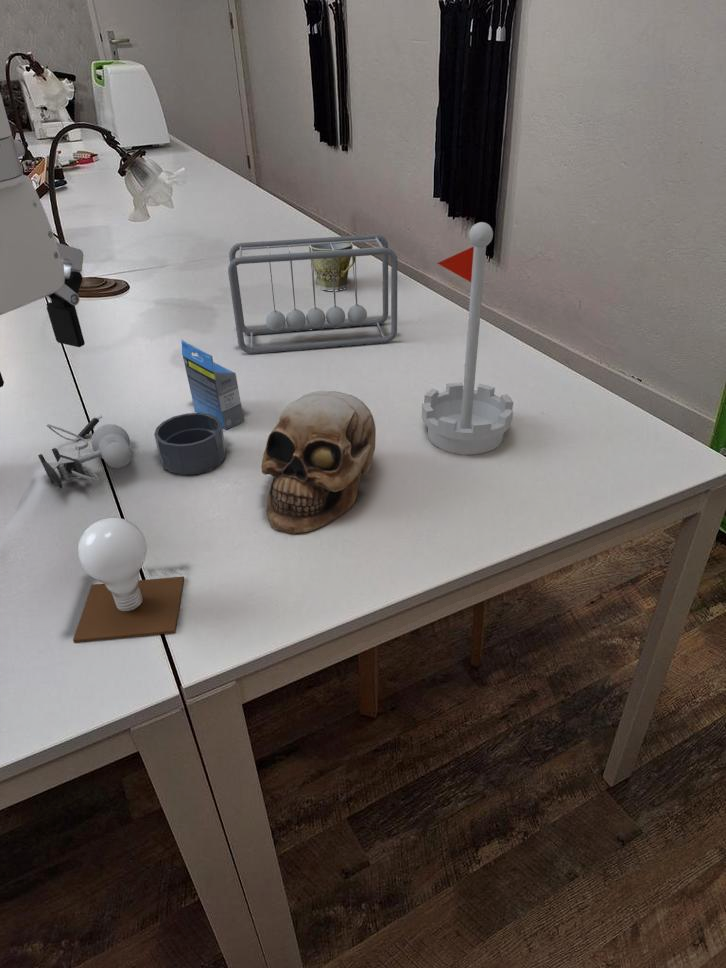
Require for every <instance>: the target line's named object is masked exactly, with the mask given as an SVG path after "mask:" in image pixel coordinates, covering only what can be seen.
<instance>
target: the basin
mask: <svg viewBox="0 0 726 968" xmlns="http://www.w3.org/2000/svg"><path fill="white" fill-rule="evenodd" d="M223 429H224V428H223V427H222V423H221V422H220V421H219V419H218V418H217V417H215V416H212V415H210V414H204V413H197V412H189V413H187V412H186V413H181V414H178V415H175V416H172V417H169V418H167V419H166V420H164V421H161V423H160V424H159V425H157V426H156V427H155V430H154V433H153V437H154V440H155V445H156V449H157V452H158V457H159V460H160V463H161V465H162V467H163V468H164V469H165V470H167V471H169V472H171V473H173V474H176V475H179V476H180V475H181V476H194V475H200V474H204V473H207V472H209V471H212V470H213V469H216V468H217V466H219V465H220V464H221V463H222V462H223V460H224V459H225V458H226V454H227V448H226V441H225V436H224V430H223Z"/></svg>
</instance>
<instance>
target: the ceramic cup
mask: <svg viewBox="0 0 726 968" xmlns="http://www.w3.org/2000/svg"><path fill="white" fill-rule="evenodd" d="M352 244H353V245H352V248H354V247H353V246H354V243H352ZM331 245H332V246H330V244H327V245H312V246H311V249H312V251H311V252H316V251H331V248H332V247H333V249H332V250H347V249H351V243H343V244H331ZM308 252H310V246H308ZM351 260H352V257H339V258H334V259H333V258H332V261H331V258H324V259H313V264H312V267H314V275H315V278H316V283H317V287H318V289H319V288H320V289H323V290H333V278H334V263H335V290H340V289H344V288H346V289H347V285H348V278H349V270H350V269H351V268H353V264H354V265H355V256H354V257H353V262H351ZM332 263H333V276H332ZM350 263H351V264H350ZM320 289H319V290H320ZM323 290H322V291H323ZM344 290H345V289H344Z"/></svg>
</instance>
